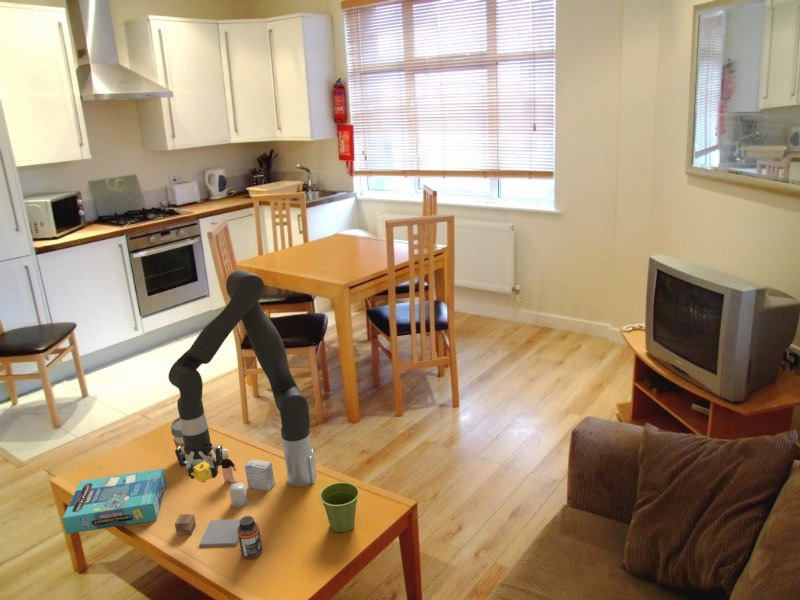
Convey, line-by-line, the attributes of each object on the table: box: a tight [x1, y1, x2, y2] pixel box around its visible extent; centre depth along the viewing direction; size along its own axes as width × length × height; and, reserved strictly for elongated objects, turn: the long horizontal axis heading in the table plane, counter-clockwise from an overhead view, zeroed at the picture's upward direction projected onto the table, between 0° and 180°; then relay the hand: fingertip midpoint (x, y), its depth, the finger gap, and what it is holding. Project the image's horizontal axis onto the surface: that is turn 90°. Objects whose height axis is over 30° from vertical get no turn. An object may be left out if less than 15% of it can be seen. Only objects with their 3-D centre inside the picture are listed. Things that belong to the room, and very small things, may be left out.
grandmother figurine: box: [217, 448, 238, 486], centre depth 224 cm, size 8×4×13 cm, turn 84°
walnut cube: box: [174, 513, 197, 537], centre depth 202 cm, size 4×4×4 cm
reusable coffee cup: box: [170, 416, 209, 466], centre depth 240 cm, size 13×13×15 cm
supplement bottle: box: [237, 515, 263, 560], centre depth 189 cm, size 6×6×11 cm
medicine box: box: [244, 459, 276, 492], centre depth 221 cm, size 8×4×9 cm, turn 71°
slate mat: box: [198, 518, 241, 547], centre depth 200 cm, size 11×11×1 cm
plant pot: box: [319, 481, 361, 533], centre depth 198 cm, size 12×12×11 cm
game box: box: [61, 468, 167, 535], centre depth 215 cm, size 20×6×27 cm
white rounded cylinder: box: [228, 482, 249, 509], centre depth 213 cm, size 5×5×6 cm
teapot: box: [191, 461, 213, 484], centre depth 202 cm, size 8×6×5 cm
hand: (203, 476), depth 202 cm, fingers closed on teapot, 6 cm apart
